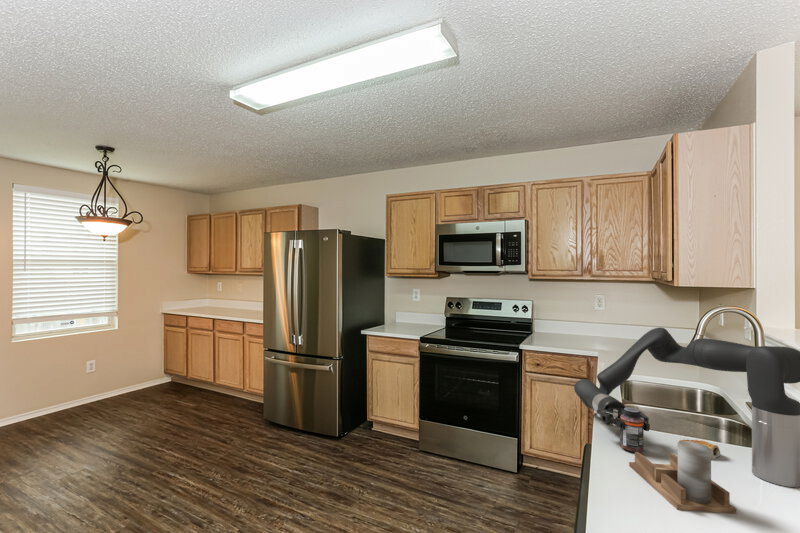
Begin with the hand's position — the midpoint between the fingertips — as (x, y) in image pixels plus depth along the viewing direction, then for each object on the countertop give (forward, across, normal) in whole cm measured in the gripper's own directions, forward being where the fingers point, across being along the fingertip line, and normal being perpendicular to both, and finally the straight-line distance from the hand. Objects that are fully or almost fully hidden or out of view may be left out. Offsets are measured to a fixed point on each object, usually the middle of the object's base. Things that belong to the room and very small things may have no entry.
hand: (636, 427), depth 112 cm
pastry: (-3, +20, +8) cm, 21 cm away
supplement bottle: (-2, 0, +7) cm, 8 cm away
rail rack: (+18, 0, +7) cm, 20 cm away
